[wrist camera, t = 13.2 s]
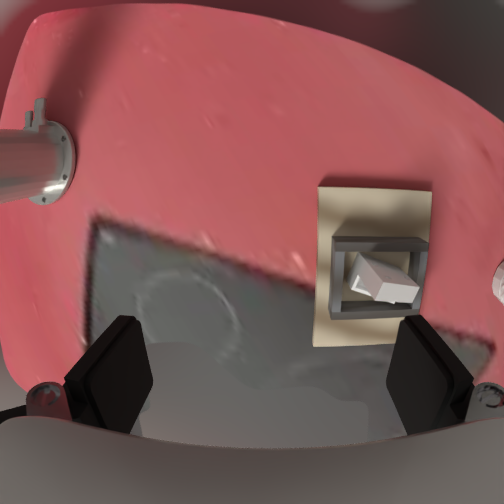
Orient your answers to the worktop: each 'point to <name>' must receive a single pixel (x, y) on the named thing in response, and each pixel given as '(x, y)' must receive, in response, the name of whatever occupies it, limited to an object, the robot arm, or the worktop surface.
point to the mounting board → (373, 244)
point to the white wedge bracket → (381, 280)
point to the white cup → (499, 283)
